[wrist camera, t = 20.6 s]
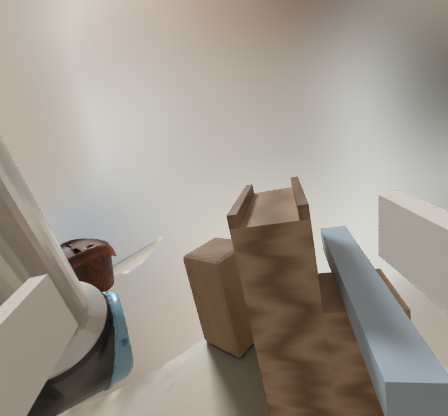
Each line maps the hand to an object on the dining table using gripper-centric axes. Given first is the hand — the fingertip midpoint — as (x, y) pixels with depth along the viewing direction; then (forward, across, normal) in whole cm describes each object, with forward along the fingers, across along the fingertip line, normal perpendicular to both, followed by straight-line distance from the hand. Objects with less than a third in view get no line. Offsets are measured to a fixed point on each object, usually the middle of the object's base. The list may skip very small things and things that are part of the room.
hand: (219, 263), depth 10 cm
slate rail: (+12, +12, -17) cm, 24 cm away
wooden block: (+31, -4, -39) cm, 50 cm away
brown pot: (+67, -50, -43) cm, 94 cm away
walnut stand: (+16, +9, -37) cm, 42 cm away
